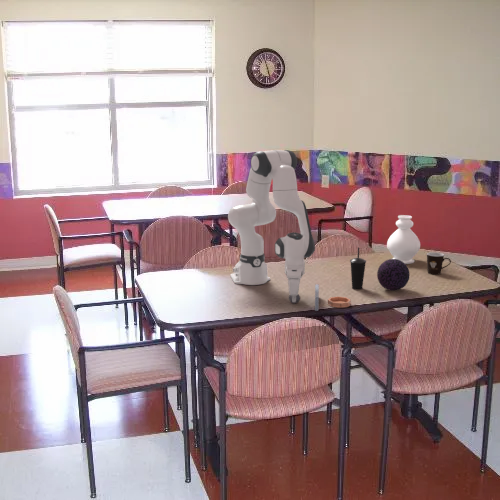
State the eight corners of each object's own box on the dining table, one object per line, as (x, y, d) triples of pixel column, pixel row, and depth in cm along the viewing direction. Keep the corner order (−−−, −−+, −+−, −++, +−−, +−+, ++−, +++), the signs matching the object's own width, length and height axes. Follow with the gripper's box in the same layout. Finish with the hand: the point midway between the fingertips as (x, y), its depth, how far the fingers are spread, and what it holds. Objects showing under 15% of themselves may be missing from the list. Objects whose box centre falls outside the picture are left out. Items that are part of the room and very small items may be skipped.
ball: (286, 302, 316) (286, 291, 315) (296, 300, 318) (296, 290, 317) (291, 305, 311) (291, 294, 310) (301, 303, 313) (301, 293, 312)
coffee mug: (422, 272, 364) (423, 253, 361) (432, 270, 369) (434, 251, 366) (440, 277, 355) (441, 258, 352) (451, 274, 360) (452, 255, 357)
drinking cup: (357, 291, 332) (358, 250, 327) (345, 287, 338) (347, 247, 333) (368, 288, 336) (370, 247, 331) (357, 285, 342) (358, 245, 337)
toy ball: (371, 286, 339) (372, 256, 335) (399, 284, 343) (401, 254, 339) (385, 295, 325) (386, 264, 321) (414, 293, 329) (416, 262, 325)
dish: (324, 302, 315) (324, 298, 315) (343, 299, 319) (343, 295, 319) (334, 308, 306) (334, 304, 306) (354, 306, 310) (354, 301, 310)
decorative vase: (382, 257, 396) (384, 213, 390) (414, 256, 397) (416, 213, 391) (390, 265, 378) (393, 219, 373) (423, 264, 379) (426, 219, 374)
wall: (315, 296, 323) (315, 284, 322) (318, 296, 323) (318, 284, 322) (314, 310, 304) (315, 297, 303) (318, 310, 304) (318, 297, 303)
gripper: (288, 263, 321) (288, 292, 325) (286, 275, 302) (286, 306, 305) (302, 263, 321) (301, 292, 324) (301, 275, 301) (300, 306, 304)
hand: (294, 299), depth 314 cm, fingers closed on ball, 5 cm apart
